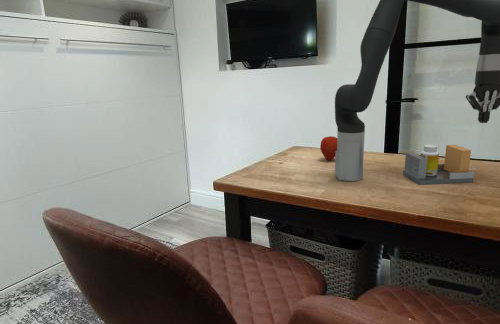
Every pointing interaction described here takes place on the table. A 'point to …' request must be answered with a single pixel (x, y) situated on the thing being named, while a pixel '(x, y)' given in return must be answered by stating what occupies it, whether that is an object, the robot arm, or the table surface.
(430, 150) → the supplement bottle
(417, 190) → the table surface
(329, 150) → the apple
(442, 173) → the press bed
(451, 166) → the tan rectangular block
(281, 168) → the table surface
